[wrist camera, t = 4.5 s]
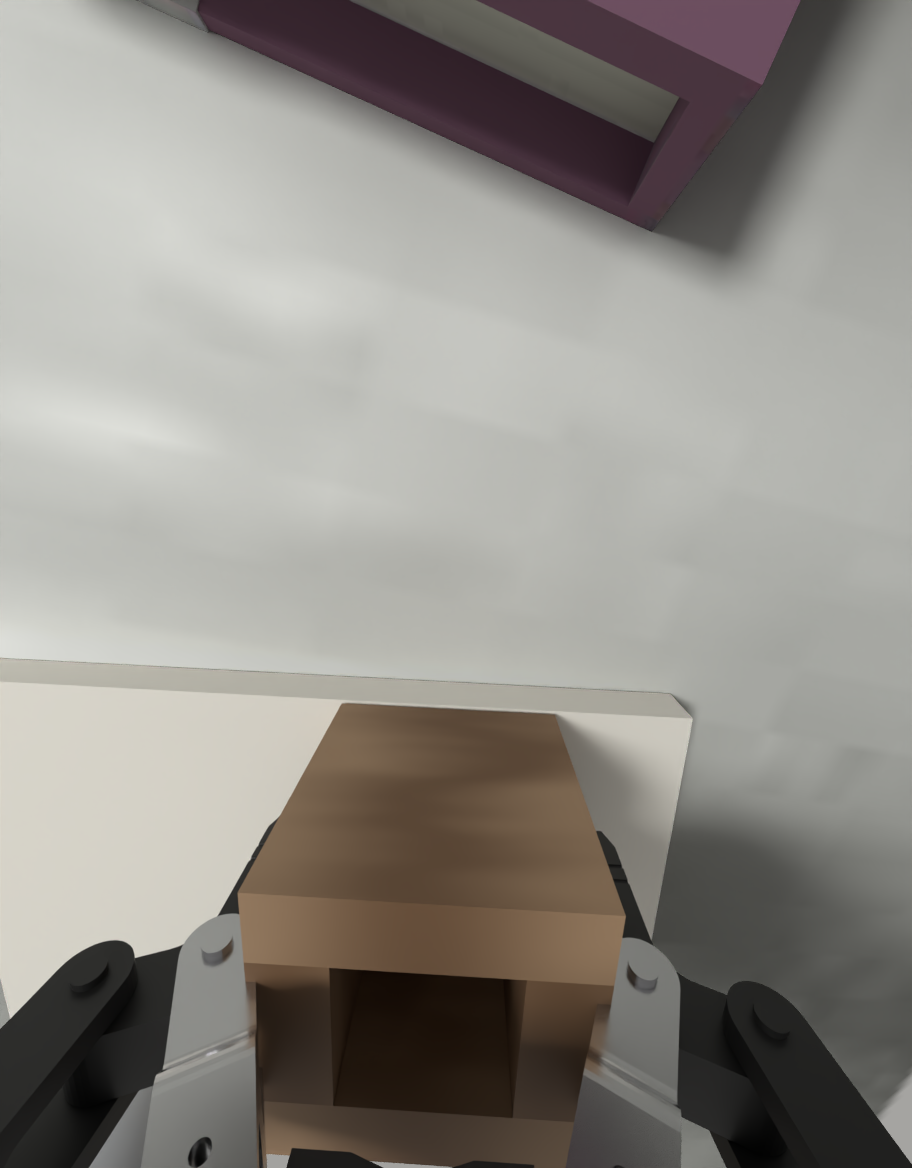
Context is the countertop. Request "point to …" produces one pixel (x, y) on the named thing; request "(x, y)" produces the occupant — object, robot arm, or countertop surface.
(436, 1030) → the brown wooden hollow cube
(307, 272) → the countertop surface
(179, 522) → the countertop surface
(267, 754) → the board
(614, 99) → the book
